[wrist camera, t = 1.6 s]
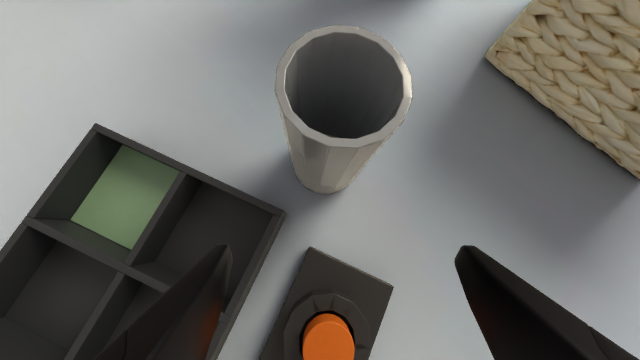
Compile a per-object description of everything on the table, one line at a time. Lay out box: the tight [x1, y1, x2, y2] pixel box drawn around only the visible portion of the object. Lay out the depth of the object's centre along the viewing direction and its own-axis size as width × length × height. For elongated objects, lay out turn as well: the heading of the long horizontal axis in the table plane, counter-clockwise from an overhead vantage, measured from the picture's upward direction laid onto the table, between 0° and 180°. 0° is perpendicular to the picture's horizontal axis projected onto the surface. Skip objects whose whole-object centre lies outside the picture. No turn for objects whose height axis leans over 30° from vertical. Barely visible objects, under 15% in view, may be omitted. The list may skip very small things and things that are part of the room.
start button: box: [303, 314, 355, 360], centre depth 17 cm, size 4×4×2 cm
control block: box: [259, 247, 394, 360], centre depth 19 cm, size 11×8×3 cm
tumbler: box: [275, 25, 412, 194], centre depth 17 cm, size 6×6×13 cm
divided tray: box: [0, 123, 287, 360], centre depth 19 cm, size 18×18×4 cm
